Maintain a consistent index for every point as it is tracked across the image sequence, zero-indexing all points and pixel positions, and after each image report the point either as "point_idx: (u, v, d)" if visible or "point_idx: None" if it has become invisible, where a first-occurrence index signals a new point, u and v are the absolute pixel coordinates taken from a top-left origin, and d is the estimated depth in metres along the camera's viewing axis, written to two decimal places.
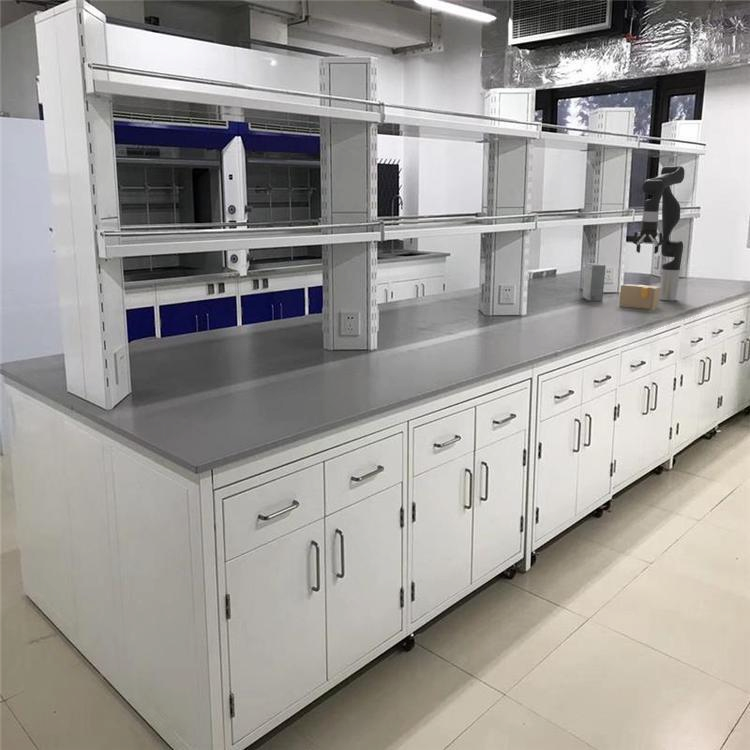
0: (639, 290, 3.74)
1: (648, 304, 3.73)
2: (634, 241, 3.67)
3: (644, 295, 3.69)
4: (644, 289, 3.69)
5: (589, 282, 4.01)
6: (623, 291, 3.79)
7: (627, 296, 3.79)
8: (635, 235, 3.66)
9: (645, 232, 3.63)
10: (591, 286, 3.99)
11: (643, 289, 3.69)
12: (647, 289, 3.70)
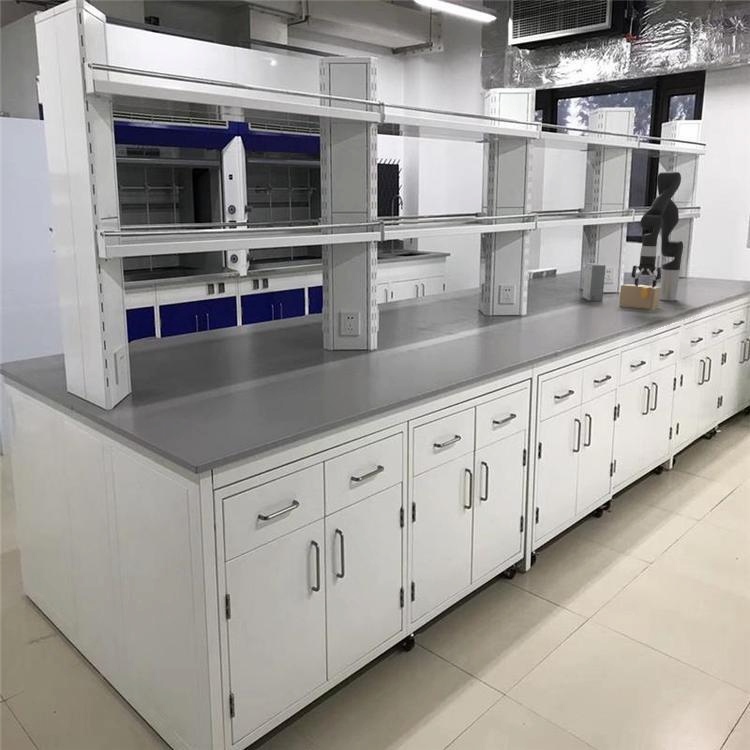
0: (639, 290, 3.74)
1: (648, 304, 3.73)
2: (632, 275, 3.71)
3: (644, 295, 3.69)
4: (644, 289, 3.69)
5: (589, 282, 4.01)
6: (623, 291, 3.79)
7: (627, 296, 3.79)
8: (633, 269, 3.70)
9: (643, 266, 3.67)
10: (591, 286, 3.99)
11: (643, 289, 3.69)
12: (647, 289, 3.70)
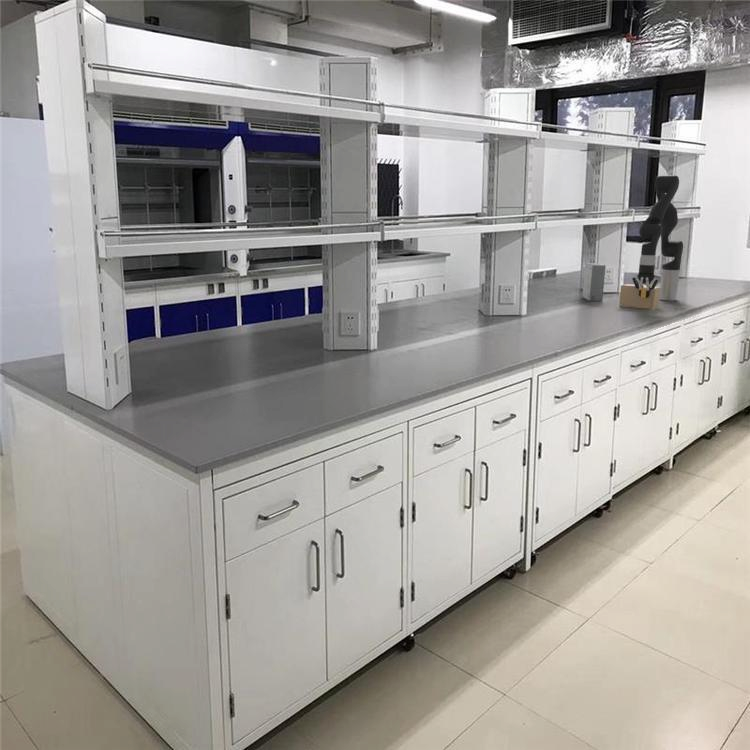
0: None
1: (648, 304, 3.73)
2: (637, 286, 3.71)
3: (644, 295, 3.69)
4: (644, 289, 3.69)
5: (589, 282, 4.01)
6: (623, 291, 3.79)
7: (627, 296, 3.79)
8: (634, 280, 3.71)
9: (642, 275, 3.68)
10: (591, 286, 3.99)
11: (643, 289, 3.69)
12: None
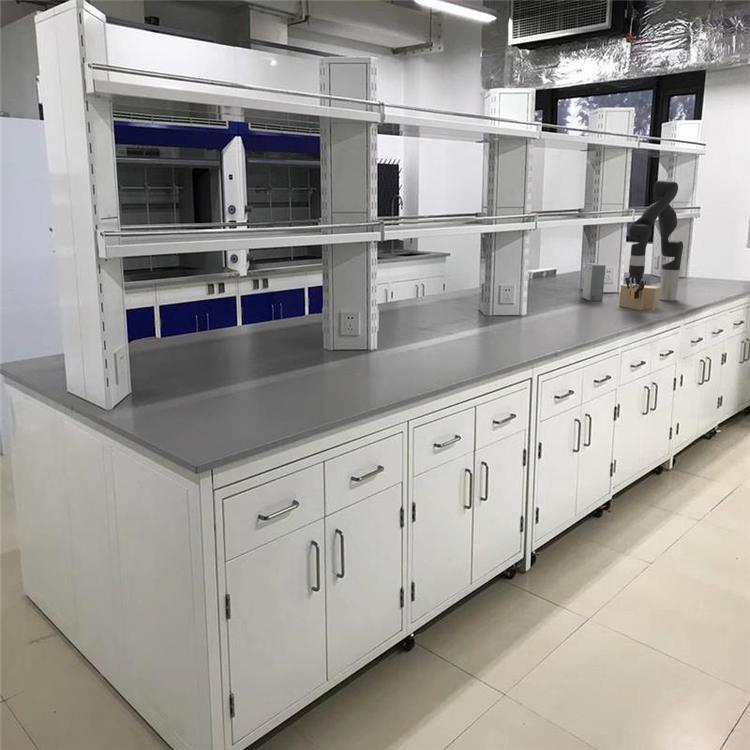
0: None
1: (639, 305, 3.68)
2: (628, 286, 3.70)
3: (633, 296, 3.67)
4: (633, 290, 3.66)
5: (589, 282, 4.01)
6: (622, 291, 3.79)
7: (624, 297, 3.78)
8: (626, 280, 3.70)
9: (632, 275, 3.66)
10: (591, 286, 3.99)
11: (632, 290, 3.67)
12: None
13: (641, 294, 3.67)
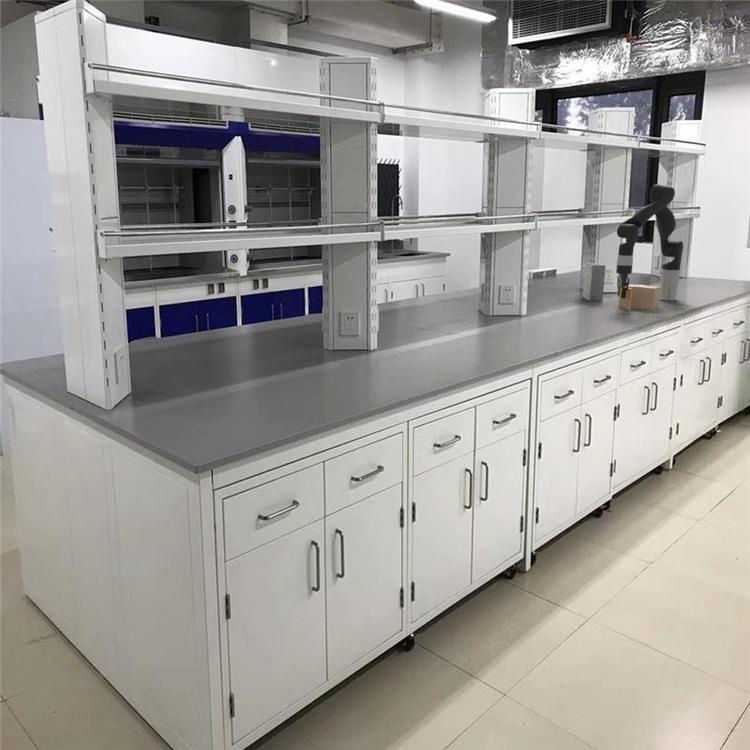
0: None
1: (628, 306, 3.67)
2: (617, 285, 3.72)
3: (620, 295, 3.67)
4: (620, 289, 3.67)
5: (589, 282, 4.01)
6: None
7: None
8: (617, 279, 3.72)
9: (620, 275, 3.67)
10: (591, 286, 3.99)
11: (620, 289, 3.67)
12: None
13: (629, 294, 3.66)
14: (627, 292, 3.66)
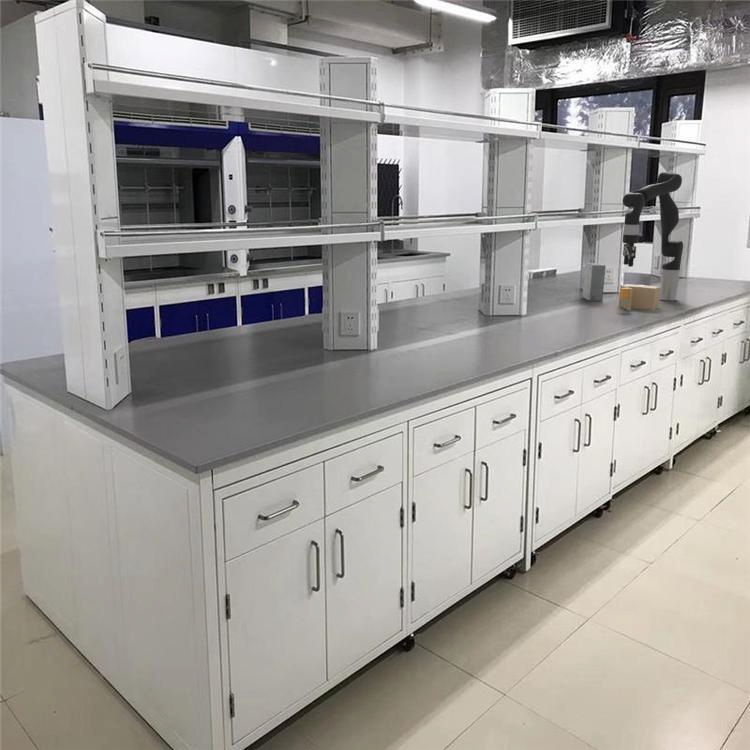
0: None
1: (628, 306, 3.67)
2: (623, 253, 3.73)
3: (620, 295, 3.67)
4: (620, 289, 3.67)
5: (589, 282, 4.01)
6: None
7: None
8: None
9: (627, 244, 3.66)
10: (591, 286, 3.99)
11: (620, 289, 3.67)
12: (625, 290, 3.66)
13: (629, 294, 3.66)
14: (627, 292, 3.66)
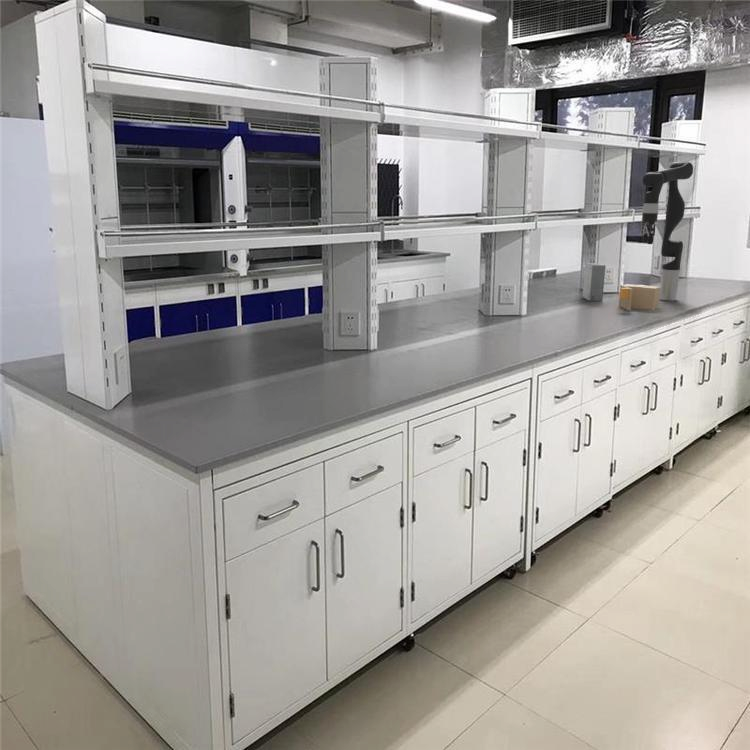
0: None
1: (628, 306, 3.67)
2: (642, 232, 3.84)
3: (620, 295, 3.67)
4: (620, 289, 3.67)
5: (589, 282, 4.01)
6: None
7: None
8: None
9: (646, 223, 3.78)
10: (591, 286, 3.99)
11: (620, 289, 3.67)
12: (625, 290, 3.66)
13: (629, 294, 3.66)
14: (627, 292, 3.66)
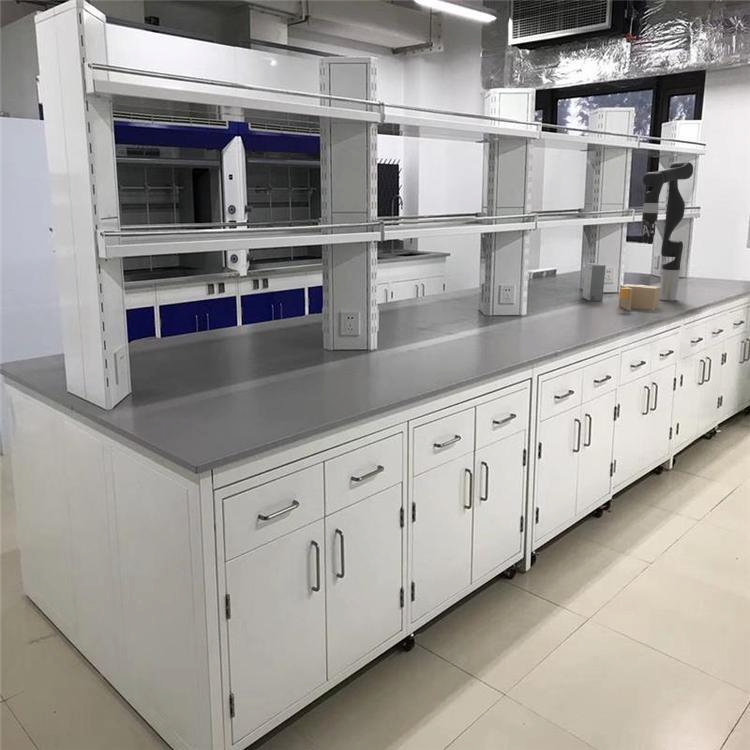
0: None
1: (628, 306, 3.67)
2: (642, 231, 3.84)
3: (620, 295, 3.67)
4: (620, 289, 3.67)
5: (589, 282, 4.01)
6: None
7: None
8: None
9: (646, 223, 3.78)
10: (591, 286, 3.99)
11: (620, 289, 3.67)
12: (625, 290, 3.66)
13: (629, 294, 3.66)
14: (627, 292, 3.66)
